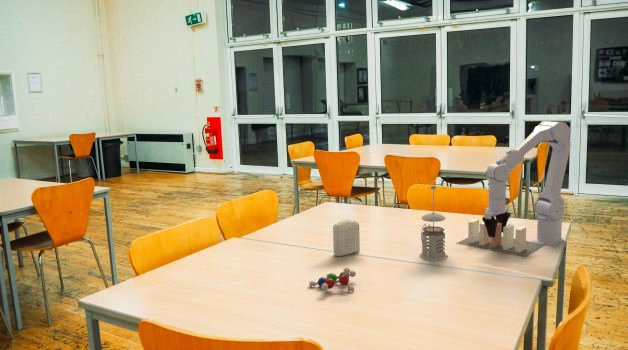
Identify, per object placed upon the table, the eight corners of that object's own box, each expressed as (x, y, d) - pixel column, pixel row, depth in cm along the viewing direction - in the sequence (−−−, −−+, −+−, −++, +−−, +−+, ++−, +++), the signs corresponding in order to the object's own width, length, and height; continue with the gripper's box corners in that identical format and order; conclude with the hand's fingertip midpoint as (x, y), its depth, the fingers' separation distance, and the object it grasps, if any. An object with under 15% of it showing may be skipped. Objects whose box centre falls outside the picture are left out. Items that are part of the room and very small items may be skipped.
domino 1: (474, 239, 192) (474, 218, 191) (478, 240, 191) (478, 219, 190) (468, 242, 189) (468, 221, 187) (472, 243, 188) (472, 222, 186)
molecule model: (303, 301, 150) (342, 299, 143) (298, 277, 151) (337, 274, 143) (330, 286, 163) (367, 283, 155) (325, 264, 163) (362, 260, 155)
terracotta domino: (497, 243, 186) (497, 222, 185) (501, 244, 185) (501, 223, 184) (490, 246, 183) (491, 225, 181) (495, 247, 182) (495, 226, 180)
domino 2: (485, 241, 189) (486, 220, 188) (489, 242, 188) (490, 221, 187) (479, 244, 186) (479, 223, 184) (483, 245, 185) (483, 224, 183)
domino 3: (508, 245, 183) (509, 224, 182) (513, 246, 182) (513, 224, 181) (502, 249, 180) (503, 227, 178) (507, 250, 178) (507, 228, 177)
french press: (453, 255, 177) (453, 184, 173) (436, 264, 169) (436, 190, 165) (428, 249, 184) (428, 181, 180) (410, 258, 176) (410, 187, 172)
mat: (478, 233, 201) (478, 232, 201) (546, 245, 183) (546, 244, 183) (455, 244, 189) (455, 243, 189) (526, 258, 171) (526, 257, 170)
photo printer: (354, 249, 189) (353, 216, 187) (361, 251, 185) (360, 218, 183) (331, 254, 183) (330, 221, 181) (338, 257, 179) (337, 223, 177)
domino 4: (521, 248, 180) (521, 226, 179) (525, 248, 179) (526, 226, 178) (515, 251, 177) (515, 229, 175) (519, 252, 175) (520, 230, 174)
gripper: (495, 192, 189) (494, 228, 191) (476, 199, 179) (476, 237, 181) (514, 194, 184) (513, 231, 186) (496, 202, 174) (495, 240, 176)
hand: (496, 234), depth 183 cm, fingers open, 7 cm apart
